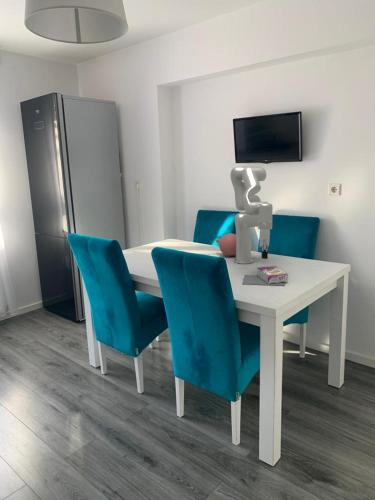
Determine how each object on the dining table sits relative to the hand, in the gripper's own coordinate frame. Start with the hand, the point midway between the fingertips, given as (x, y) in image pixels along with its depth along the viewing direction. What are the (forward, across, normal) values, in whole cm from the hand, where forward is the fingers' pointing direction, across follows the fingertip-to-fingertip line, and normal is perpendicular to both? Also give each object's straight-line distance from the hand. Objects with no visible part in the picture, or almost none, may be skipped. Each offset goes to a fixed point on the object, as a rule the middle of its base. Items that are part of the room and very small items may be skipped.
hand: (264, 258), depth 225 cm
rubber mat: (+10, +8, 0) cm, 13 cm away
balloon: (+10, -48, -26) cm, 56 cm away
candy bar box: (+7, -2, +1) cm, 8 cm away
